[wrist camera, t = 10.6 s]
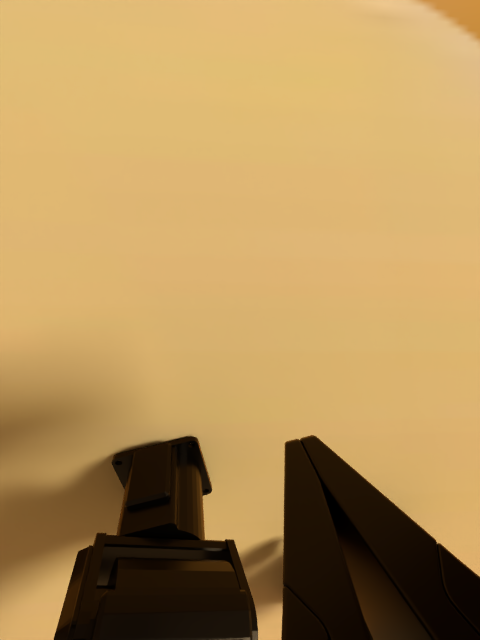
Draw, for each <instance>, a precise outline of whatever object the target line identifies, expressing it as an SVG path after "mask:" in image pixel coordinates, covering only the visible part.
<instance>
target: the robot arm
mask: <svg viewBox="0 0 480 640" xmlns="http://www.w3.org/2000/svg"><path fill="white" fill-rule="evenodd" d="M190 443H193V444H190ZM119 460H120V461H119ZM112 465H113V467H114V469H115V471H116V473H117V475H118V477H119V479H120V481H121V483H122V485H123V487H124V489H125V493H124V498H123V503H122V509H121V514H120V519H119V525H118V530H117V535H106V533H97V534H96V538H95V541H94V544H93V546H89V547H87V548H85V549H83V550H81V551H78V554H77V558H76V561H75V565H74V568H73V572H72V576H71V579H70V583H69V586H68V590H67V593H66V597H65V601H64V604H63V608H62V611H61V615H60V619H59V622H58V626H57V629H56V633H55V637H54V640H258V627H257V617H256V610H255V606H254V602H253V598H252V595H251V592H250V589H249V586H248V582H247V579H246V576H245V573H244V570H243V567H242V564H241V561H240V558H239V555H238V551H237V548H236V545H235V542H234V540H228V539H226V540H225V541H216V540H205V533H204V514H203V495H207V494H210V493H211V491H212V485H211V482H210V478H209V475H208V472H207V468H206V465H205V462H204V458H203V455H202V451H201V448H200V445H199V441H198V439H197V438H196V437H188V438H183V439H179V440H175V441H171V442H166V443H162V444H158V445H154V446H149V447H145V448H141V449H137V450H132V451H128V452H124V453H120V454H116V455H115V456H113V459H112ZM283 585H284V587H283V615H282V640H371V638H370V635H369V632H368V629H367V626H368V628H369V630H370V633H371V635H372V637H373V639H374V640H480V577H479V576H478V575H477V574H475V573H474V572H473V571H472V570H471V569H469V568H468V567H467V566H466V565H465V564H463V563H462V562H461V561H460V560H459V559H457V558H456V557H455V556H454V555H453V554H452V553H451V552H449V551H448V550H447V549H446V548H445V547H444V546H443V545H441V544H440V543H438V544H437V542H436V540H435V539H434V538H433V537H432V536H431V535H430V534H428V533H427V532H426V531H425V530H424V529H423V528H421V527H420V526H419V525H418V524H417V523H416V522H415V521H413V520H412V519H411V518H410V517H409V516H408V515H406V514H405V513H404V512H403V511H402V510H401V509H399V508H398V507H397V506H396V505H395V504H394V503H392V502H391V501H390V500H389V499H388V498H387V497H386V496H384V495H383V494H382V493H381V492H380V491H379V490H377V489H376V488H375V487H374V486H373V485H372V484H370V483H369V482H368V481H367V480H366V479H365V478H364V477H362V476H361V475H360V474H359V473H358V472H357V471H355V470H354V469H353V468H352V467H351V466H350V465H348V464H347V463H346V462H345V461H344V460H343V459H342V458H340V457H339V456H338V455H337V454H336V453H335V452H333V451H332V450H331V449H330V448H329V447H328V446H326V445H325V444H324V443H323V442H322V441H321V440H320V439H318V438H317V437H316V436H314V435H311V436H307V437H303V438H301V439H300V440H299V439H295V440H291V441H287V442H286V443H285V476H284V559H283ZM365 621H366V622H365ZM366 624H367V626H366Z"/></svg>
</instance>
